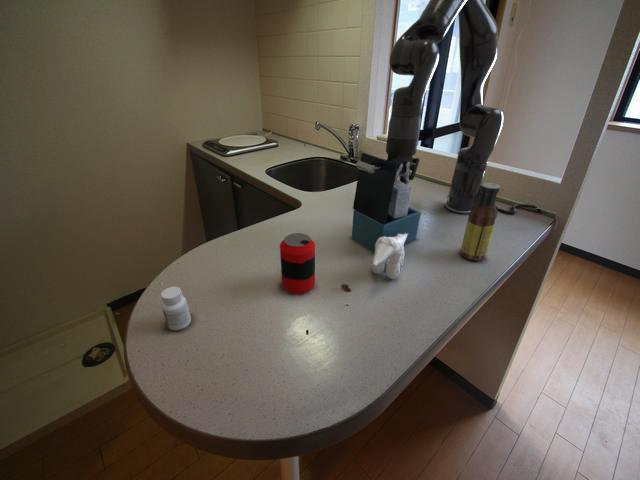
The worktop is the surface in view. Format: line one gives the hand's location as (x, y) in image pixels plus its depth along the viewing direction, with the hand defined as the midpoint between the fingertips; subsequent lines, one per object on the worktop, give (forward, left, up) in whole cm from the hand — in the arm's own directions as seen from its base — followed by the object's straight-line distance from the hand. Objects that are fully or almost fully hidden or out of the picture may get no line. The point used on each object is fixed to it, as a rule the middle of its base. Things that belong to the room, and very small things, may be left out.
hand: (394, 197), depth 87 cm
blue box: (+2, +1, -12) cm, 12 cm away
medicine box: (0, 0, -5) cm, 5 cm away
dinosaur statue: (+3, +16, -12) cm, 20 cm away
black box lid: (+7, +5, +5) cm, 9 cm away
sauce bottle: (-20, +10, -12) cm, 26 cm away
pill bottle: (+49, +34, -12) cm, 61 cm away
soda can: (+26, +22, -12) cm, 36 cm away
